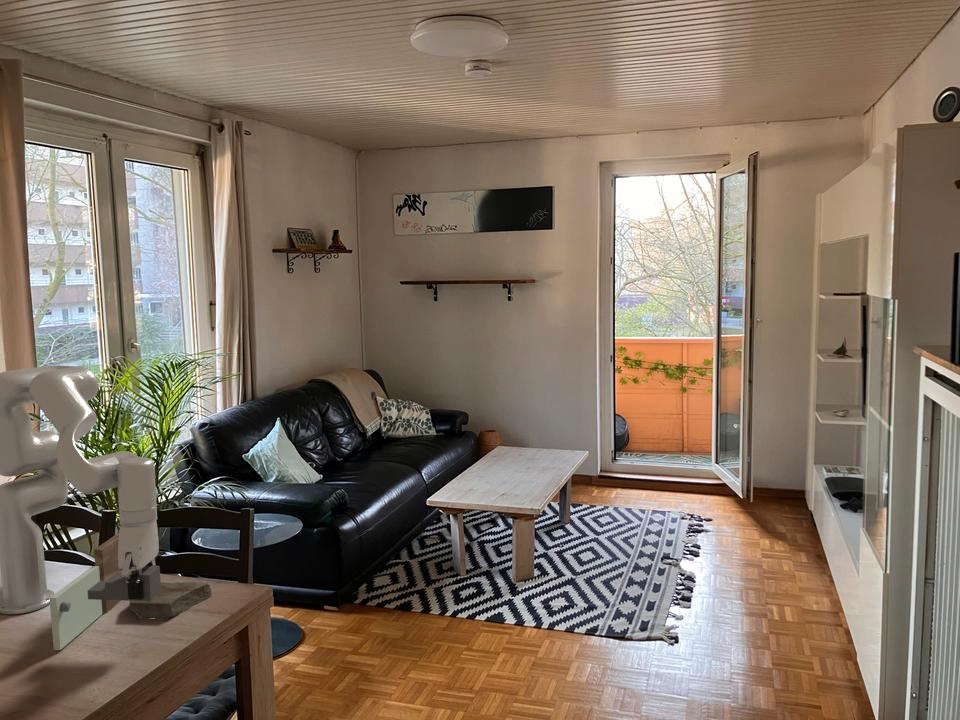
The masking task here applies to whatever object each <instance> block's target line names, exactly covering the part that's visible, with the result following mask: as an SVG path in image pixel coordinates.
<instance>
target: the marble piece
mask: <svg viewBox="0 0 960 720" xmlns="http://www.w3.org/2000/svg"><path fill="white" fill-rule="evenodd" d="M160 583H161V592H160V593H159V594H158V595H157V596H156V597H155V598H153V599H152V600H151V601H129V603H128V604H129V608H130V611H132V612H134V613H135V614H136V617H137V618H138V619H149V618H155V619H154V620H163V619H164V620H168V619H170V617H171V618H173V617H176V616H178V615H181V614H182V613H184V612H185V611H186V610H187V611H188V610H189V609H190V608H192V607H194V606H195V605H196V606H197V605H198V604H200V603H202V602H204V601H206V600H207V599H208V598H210V597H211V596H212V594H213V592H212V591H213V590H212V588H211V585H210V583H208V582H202V581H200V582H196V581H194V582H191V581H186V582H185V581H181V582H179V581H178V582H177V581H176V582H162V581H160ZM180 613H181V614H180Z"/></svg>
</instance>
